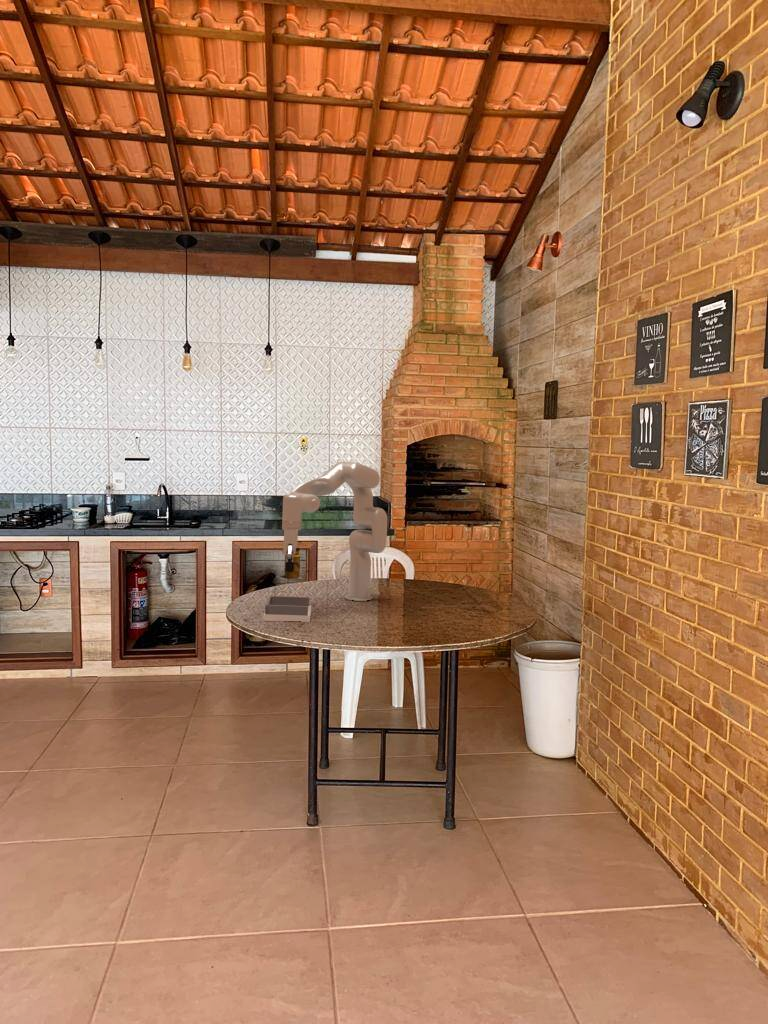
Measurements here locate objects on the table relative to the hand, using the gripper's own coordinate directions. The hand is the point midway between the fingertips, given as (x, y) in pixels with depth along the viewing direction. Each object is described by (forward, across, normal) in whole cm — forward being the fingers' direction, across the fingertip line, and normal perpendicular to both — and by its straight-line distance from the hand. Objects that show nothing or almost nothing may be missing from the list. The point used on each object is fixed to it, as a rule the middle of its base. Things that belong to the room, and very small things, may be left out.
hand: (289, 569), depth 277 cm
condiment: (+3, 0, 0) cm, 3 cm away
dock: (+19, 0, 0) cm, 19 cm away
